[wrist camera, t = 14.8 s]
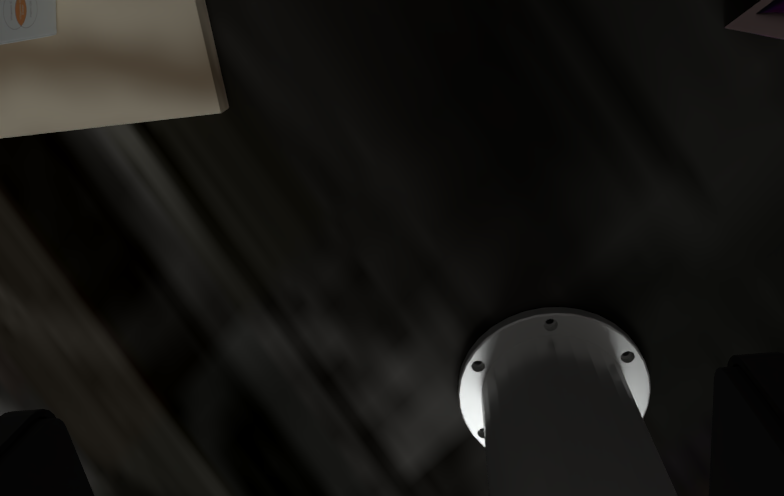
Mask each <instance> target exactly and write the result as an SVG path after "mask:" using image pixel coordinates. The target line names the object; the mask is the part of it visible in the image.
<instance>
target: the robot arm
mask: <svg viewBox="0 0 784 496" xmlns="http://www.w3.org/2000/svg"><path fill="white" fill-rule="evenodd" d="M548 319H551V320H550V321H546V320H548ZM650 392H651V387H650V375H649V372H648V369H647V366H646V363H645V360H644V358H643V356H642V355H641V353H640V351H639V349H638V347H637V346H636V344H635V343H634V342H633V341H632V339H631V338H630V337H629V336H628V334H627V333H625V332H624V331H623V330H622V329H621V328H619V327H618V326H617V325H616V324H614V323H613V322H611V321H609V320H607V319H605V318H603V317H601V316H600V315H597V314H594V313H591V312H587V311H584V310H581V309H574V308H566V307H545V308H539V309H534V310H528V311H524V312H521V313H519V314H516V315H513V316H511V317H508V318H506V319H504V320H503V321H501V322H499V323H498V324H496V325H494V326H492V327H491V328H490V329H489V330H488V331H486V332H485V333H484V334H483V335H482V336H481V337H480V338H479V339H478V340H477V341H476V342H475V344H474V345H473V346H472V347H471V349H470V350H469V351H468V353H467V355H466V357H465V359H464V361H463V363H462V366H461V370H460V374H459V378H458V399H459V408H460V411H461V414H462V417H463V420H464V422H465V424H466V426H467V427H468V429H469V431H470V432H471V434H472V435H473V436H474V437H475V438H476V439H477V440H478V442H479V443H480V444H481V445H482V446H484V447H485V451H486V463H487V475H488V486H489V496H677V494H676V492H675V489H674V487H673V485H672V483H671V480H670V478H669V476H668V474H667V472H666V469H665V467H664V465H663V463H662V460H661V458H660V456H659V454H658V451H657V449H656V447H655V445H654V443H653V440H652V438H651V436H650V434H649V431H648V429H647V427H646V425H645V422H644V420H643V417H644V415H645V412H646V410H647V407H648V405H649V398H650ZM0 496H94V494H93V491H92V489H91V487H90V484H89V482H88V479H87V477H86V474H85V472H84V470H83V467H82V465H81V462H80V460H79V457H78V455H77V453H76V450H75V448H74V445H73V443H72V440H71V438H70V435H69V433H68V431H67V428H66V426H65V424H64V423H63V421H61V420H60V419H58V418H56V417H55V415H54V414H53V413H51V412H50V411H49V410H45V409H39V410H26V411H13V412H8V413H4V414H3V415H2V416H0ZM709 496H784V354H783V353H780V352H771V353H758V354H745V355H733V356H732V357H731V358H730V360H729V362H728V367H723V368H718V369H716V372H715V376H714V394H713V417H712V440H711V463H710V486H709Z"/></svg>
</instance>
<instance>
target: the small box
mask: <svg viewBox="0 0 784 496" xmlns="http://www.w3.org/2000/svg"><path fill="white" fill-rule="evenodd" d="M56 33H57V29H56V0H0V45H1V44H8V43H14V42H20V41H26V40H31V39H37V38H43V37H48V36H53V35H56Z"/></svg>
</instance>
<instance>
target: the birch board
mask: <svg viewBox="0 0 784 496" xmlns="http://www.w3.org/2000/svg"><path fill="white" fill-rule="evenodd" d="M56 29H57V33H56V35H53V36H48V37H43V38H37V39H31V40H26V41H20V42H14V43H8V44H1V45H0V138H7V137H16V136H25V135H34V134H42V133H51V132H60V131H69V130H77V129H86V128H95V127H104V126H112V125H121V124H130V123H138V122H147V121H156V120H165V119H173V118H182V117H191V116H200V115H208V114H217V113H222V112H223V111H225V110H227V109H228V108H229V105H228V101H227V96H226V92H225V87H224V83H223V78H222V74H221V69H220V65H219V61H218V56H217V52H216V47H215V43H214V38H213V34H212V29H211V25H210V20H209V16H208V11H207V7H206V3H205V0H56Z"/></svg>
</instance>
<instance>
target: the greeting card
mask: <svg viewBox="0 0 784 496" xmlns="http://www.w3.org/2000/svg"><path fill="white" fill-rule="evenodd" d="M725 28H727V29H732V30H737V31H743V32H748V33H753V34H758V35H763V36H768V37H773V38H779V39H784V0H761V1H759V2H758V3H756V4H755V5H754V6H752V7H751V8H750V9H748V10H747V11H746V12H744V13H743V14H742V15H740V16H739V17H738V18H736V19H735V20H734V21H732V22H731V23H730V24H728V25H727V26H726V27H725Z"/></svg>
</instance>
